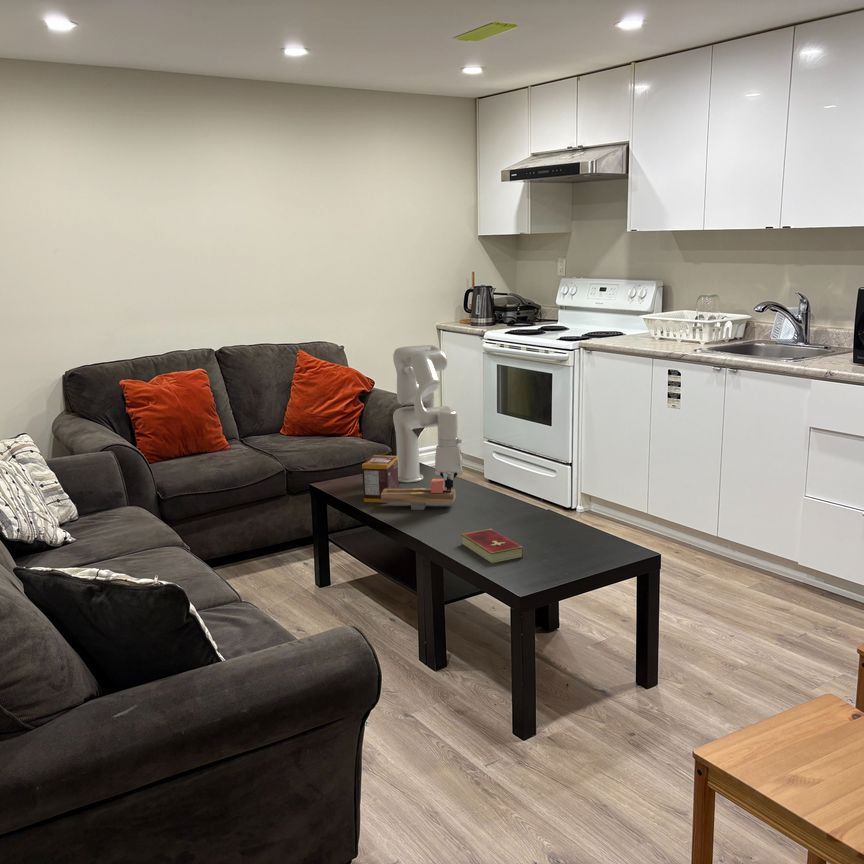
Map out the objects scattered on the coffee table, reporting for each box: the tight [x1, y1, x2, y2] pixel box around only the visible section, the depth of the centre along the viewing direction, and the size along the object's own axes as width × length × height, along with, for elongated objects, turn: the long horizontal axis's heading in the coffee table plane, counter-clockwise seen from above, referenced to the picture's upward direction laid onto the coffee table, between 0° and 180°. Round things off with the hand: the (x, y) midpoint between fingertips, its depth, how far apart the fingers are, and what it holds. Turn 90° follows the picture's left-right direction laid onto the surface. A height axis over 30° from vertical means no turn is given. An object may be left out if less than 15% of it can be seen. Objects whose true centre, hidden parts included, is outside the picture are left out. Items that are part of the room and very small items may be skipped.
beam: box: [381, 487, 457, 511], centre depth 331 cm, size 8×28×6 cm, turn 83°
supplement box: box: [361, 454, 400, 504], centre depth 345 cm, size 10×15×16 cm
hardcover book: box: [460, 528, 525, 564], centre depth 282 cm, size 12×21×4 cm, turn 25°
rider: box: [430, 478, 445, 493], centre depth 329 cm, size 6×4×6 cm
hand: (449, 489), depth 329 cm, fingers closed
